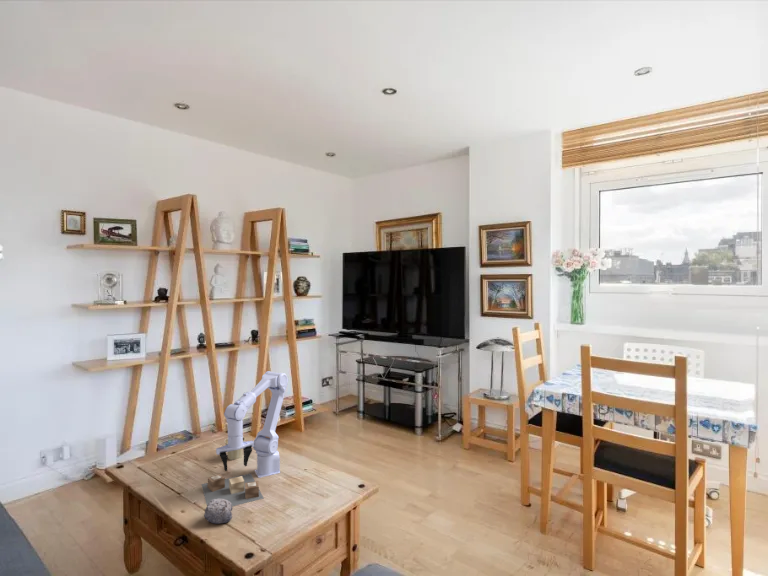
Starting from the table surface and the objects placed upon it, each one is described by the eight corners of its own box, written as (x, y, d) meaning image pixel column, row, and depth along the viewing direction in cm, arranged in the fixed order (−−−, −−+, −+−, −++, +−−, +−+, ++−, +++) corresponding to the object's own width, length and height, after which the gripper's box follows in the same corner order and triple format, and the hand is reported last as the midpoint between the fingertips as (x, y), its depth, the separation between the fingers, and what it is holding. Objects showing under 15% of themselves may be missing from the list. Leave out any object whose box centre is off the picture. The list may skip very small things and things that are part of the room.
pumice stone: (238, 523, 151) (220, 508, 156) (242, 504, 150) (225, 489, 155) (213, 537, 143) (196, 521, 147) (218, 517, 141) (200, 501, 146)
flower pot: (241, 462, 196) (241, 443, 196) (221, 461, 196) (221, 443, 196) (248, 453, 206) (247, 436, 205) (228, 453, 206) (228, 436, 206)
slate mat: (250, 474, 184) (250, 473, 184) (263, 499, 163) (263, 498, 163) (201, 485, 174) (201, 484, 174) (208, 513, 154) (208, 512, 154)
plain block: (241, 485, 173) (241, 476, 173) (244, 490, 169) (244, 481, 169) (229, 488, 171) (229, 478, 171) (231, 494, 166) (231, 484, 166)
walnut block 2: (258, 490, 169) (258, 480, 169) (258, 496, 164) (258, 486, 164) (245, 492, 167) (245, 482, 167) (245, 499, 163) (245, 488, 163)
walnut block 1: (219, 483, 175) (219, 473, 175) (224, 487, 172) (224, 477, 171) (207, 487, 172) (207, 477, 172) (212, 491, 168) (212, 481, 168)
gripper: (250, 427, 177) (250, 459, 177) (214, 434, 169) (214, 468, 169) (255, 433, 171) (255, 466, 171) (218, 440, 163) (218, 475, 163)
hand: (235, 467), depth 170 cm, fingers open, 7 cm apart
